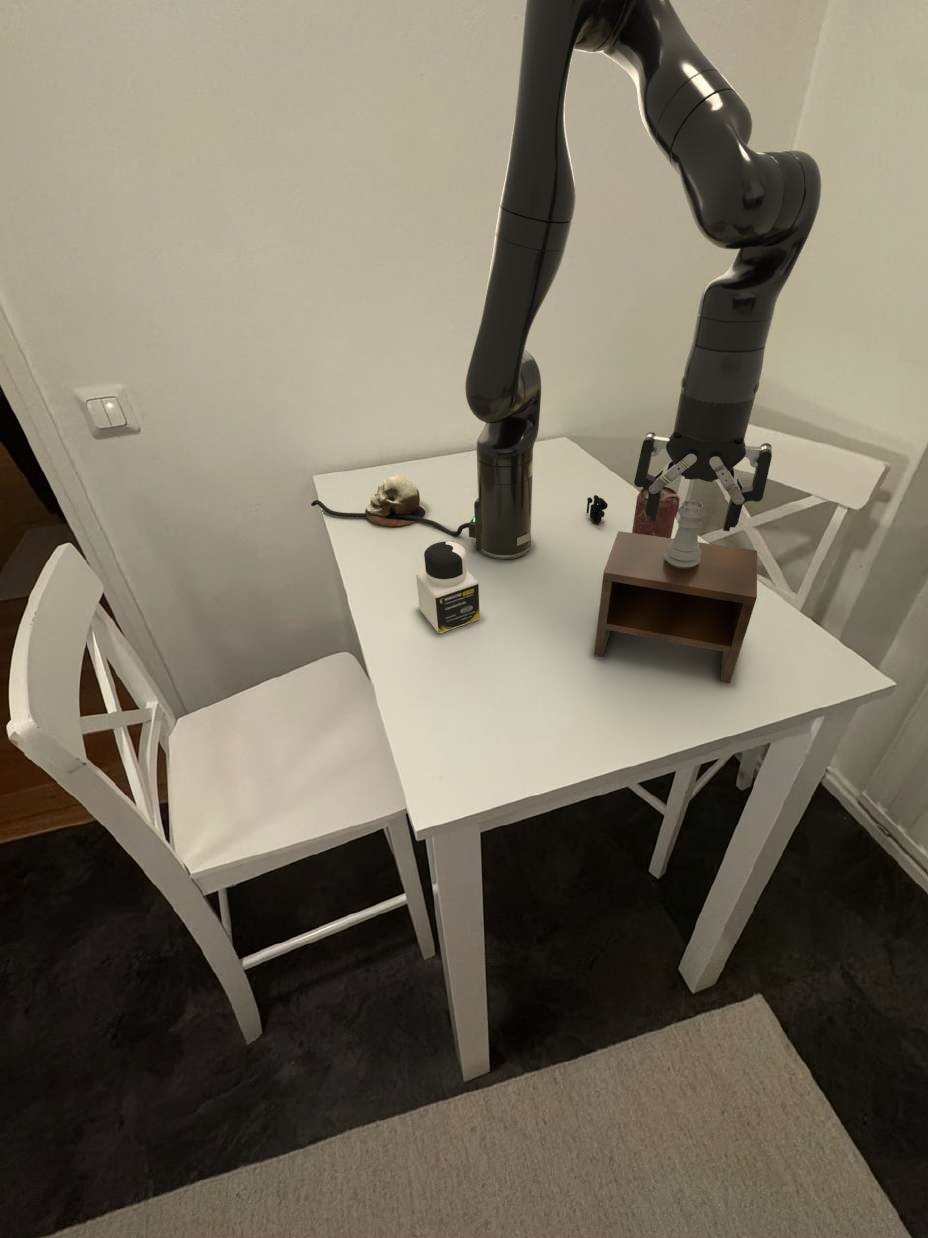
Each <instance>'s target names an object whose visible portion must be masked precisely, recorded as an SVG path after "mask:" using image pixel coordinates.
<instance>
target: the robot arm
mask: <svg viewBox="0 0 928 1238" xmlns="http://www.w3.org/2000/svg"><path fill="white" fill-rule="evenodd" d="M574 51H578V52H583V53H588V54H597V53H598V54H599V53H600V54H603V55H605V56H606V57H607V58H609V59H610V60H612V61H613V62H614V63H616V64H617V65H618V66H620V67H621V68H622V69H623V70H624V71H626V73H627V74H628V75H629V76H630V77H631V79H632V81H633V82H634V84H635V87H636V91H637V92H636V93H637V103H638V109H639V113H640V117H641V121H642V123H643V125H644V128H645V129H646V131H647V133H648V135H649V137H650V138H651V140H652V141H653V143H654V144H655V146H656V147H657V148H658V149H659V151H660V152H661V153H662V154H663V156H664V158H665V159H666V160H667V161H668V162H669V164H670V165H671V167H672V168H673V170H674V171H675V172H676V173H677V174H678V175H679V178H680V181H681V185H682V189H683V192H684V196H685V198H686V201H687V204H688V207H689V210H690V213H691V216H692V218H693V221H694V224H695V226H696V228H697V229H698V231H699V233H700V234H701V235H702V236H703V237H704V238H705V239H706V240H707V241H708V242H710V243H711V244H712V245H714V246H716V247H717V248H720V249H723V250H730V251H733V250H737V252H736V254H735V257H734V258H733V261H732V262H731V265H730V266H729V268H728V269H727V270H726V271H725V272H723V273H721V274H720V275H718V276H716V277H715V278H713V279H711V280H710V281H709V282H707V284H706V285H705V286H704V287H703V290H702V293H701V296H700V299H699V304H698V309H697V314H696V320H695V325H694V331H693V336H692V342H691V345H690V346H691V347H690V349H689V353H688V356H687V359H686V362H685V365H684V371H683V376H682V378H681V383H680V387H681V388H680V393H679V399H678V405H677V409H676V410H677V411H676V416H675V421H674V426H673V431H672V433H671V435H670V436H669V437H663V436H657V435H656V433H655V432H653V431H648V432H647V433H646V434H645V436H644V439H643V441H642V445H641V448H640V449H641V450H640V453H639V458H638V463H637V468H636V472H635V475H634V476H635V477H634V481H633V483H634V484H633V485H634V486H635V487H637V488H642V489H643V488H645V489H647V491H648V493H649V494H648V500H647V506H646V515H647V516H651V517H650V521H656V518H657V514H658V509H659V504H660V498H661V493H662V488H663V487H667V485H669V484H671V483H672V482H673V481H675V480H676V479H677V478H678V477H679V476H681V477H684V479H685V480H702V481H704V482H708V483H713V482H714V481H717V480H719V482H720V483H721V485H722V487H723V489H724V490H725V491H726V492H727V494H728V495H729V500H728V504H727V505H728V506H727V509H726V513H725V516H724V521H723V525H722V526H723V527H722V531H723V532H730V530H731V528H736V527H737V525H738V524H739V519H740V517H741V513H742V509H743V506H744V505H745V503H748V502H752V501H753V502H755V503H759V502H761V501H762V500H763V498H764V495H765V490H766V485H767V480H768V476H769V472H770V467H771V462H772V457H773V455H772V454H773V449H772V448H773V447H772V444H771V443H768V442H765V443H762V444H761V445H760V446H753V445H746V442H745V439H746V434H747V431H748V426H749V422H750V418H751V414H752V410H753V406H754V403H755V399H756V395H757V392H758V390H759V388H760V379H761V375H762V371H763V366H764V360H765V359H764V356H765V351H766V345H767V342H768V339H769V338H768V337H769V334H770V330H771V326H772V322H773V318H774V314H775V310H776V304H777V302H778V299H779V296H780V294H781V292H782V290H783V289H784V287H785V286H786V283H787V282H788V280H789V277H790V276H791V274H792V272H793V269H794V267H795V265H796V263H797V261H798V258H799V257H800V255H801V253H802V252H803V249H804V247H805V244H806V243H807V240H808V239H809V237H810V234H811V231H812V229H813V226H814V225H815V224H814V223H815V221H816V218H817V215H818V211H819V208H820V203H821V196H822V177H821V172H820V168H819V165H818V163H817V161H816V160H815V158H813V157H812V156H811V155H810V154H809V153H807V152H805V151H802V150H795V149H793V150H789V149H788V150H778V151H761V152H756V151H754V150H753V149H751V147H749V145H748V144H749V142H750V141H751V140H750V139H751V136H752V132H753V118H752V115H751V111H750V109H749V107H748V105H747V103H746V102H745V101H744V99H743V98H742V97H741V95H740V94H739V92H737V90H735V88H734V87H733V86H732V84H730V82H729V81H728V80H727V79H726V77H725V76H724V75H723V74H722V73H721V71H719V69H718V68H717V67H716V66H715V65H714V63H712V61H711V60H710V59H709V58H708V57H707V56H706V54H705V53H704V52H703V51H702V49H701V48H700V47H699V45H697V43H696V42H695V40H694V38H693V37H692V36H691V34H690V33H689V31H688V30H687V28H686V26H685V25H684V23H683V22H682V20H681V19H680V17H679V15H678V13H677V12H676V10H675V8H674V6H673V4H672V2H671V1H670V0H526V4H525V13H524V24H523V33H522V43H521V55H520V66H519V76H518V86H517V87H518V88H517V97H516V104H515V113H514V119H513V120H514V121H513V128H512V133H511V141H510V147H509V154H508V159H507V167H506V172H505V178H504V183H503V188H502V194H501V198H500V203H499V208H498V214H497V219H496V220H497V221H496V227H495V233H494V240H493V250H492V256H491V261H490V267H489V272H488V278H487V283H486V289H485V296H484V302H483V307H482V314H481V318H480V323H479V327H478V331H477V334H476V338H475V342H474V346H473V350H472V354H471V357H470V361H469V364H468V368H467V372H466V377H465V385H464V386H465V387H464V388H465V389H464V390H465V398H466V402H467V405H468V407H469V409H470V411H471V412H472V415H474V416H475V417H476V418H477V419H478V420H479V421H481V422H483V423H485V425H484V426H483V429H482V431H481V433H480V434H479V436H478V438H477V440H476V445H475V446H476V449H475V450H476V474H477V475H476V476H477V498H476V500H475V501H474V504H473V509H474V510H473V511H474V512H473V513H474V516H473V517H472V519H470V521H469V522H465V523H462V524H460V525H459V526H458V527H457V529H456V530H455V531H453V530H450V529H449V528H447V527H445V526H444V525H442V524H440V523H439V522H437V521H434V520H432V519H428V518H424V517H422V518H421V517H417V516H412V515H406V514H403V515H393V516H394V517H399V518H404V519H410V520H415V521H416V522H420V523H423V524H427V525H430V526H432V527H434V528H436V529H438V530H440V531H441V532H443V533H445V534H447V535H449V536H453V537H459V536H461V534H462V532H463V530H464V529H468V538H471V539H475V551H477V552H481V553H482V554H483V555H485V556H487V557H488V558H492V559H495V560H513V559H514V560H515V559H518V558H520V557H523V556H525V555H526V554H528V553H529V552H530V550H531V548H532V515H533V514H532V513H533V512H532V510H533V507H532V506H533V477H534V476H533V472H534V471H533V470H534V447H535V444H536V441H537V438H538V435H539V429H540V418H541V417H540V416H541V405H542V404H541V402H542V376H541V371H540V368H539V365H538V362H537V360H536V359H535V357H534V356H533V355H532V354H531V353H530V352H529V351H528V350H526V349H525V348H526V344H527V341H528V337H529V335H530V331H531V328H532V325H533V323H534V321H535V318H536V317H537V315H538V313H539V310H540V308H541V307H542V305H543V303H544V301H545V299H546V297H547V295H548V294H549V292H550V289H551V287H552V285H553V283H554V281H555V279H556V276H557V274H558V272H559V270H560V266H561V264H562V261H563V259H564V255H565V252H566V248H567V242H568V239H569V236H570V235H569V234H570V230H571V227H572V222H573V219H574V214H575V209H576V198H577V197H576V195H577V194H576V183H575V175H574V169H573V164H572V158H571V154H570V149H569V143H568V137H567V132H566V131H567V130H566V118H565V112H566V111H565V110H566V109H565V108H566V95H567V90H568V83H569V77H570V69H571V64H572V59H573V56H574V55H573V54H574ZM661 450H666V453H667V455H668V456H669V458H670V460H669V462H667V463H665V465H664V466H663V468H662V469H660V471H659V472H657V473H656V474H655V475H652V474H650V473H649V469H650V465H651V461H652V457H656V456H658V455H659V454H660V452H661ZM745 458H747V459H748V460H749V465H750V467H752V468H754V469H755V470H754V472H753V473H754V474H753V478H752V479H753V480H752V483H751V485H749V486H744V485H743V484H742V481H741V480H740V478H739V475H738V472H737V471H736V469H735V467H736V466H737V465H738V464H739V463H740V462H741V461H742V460H744V459H745ZM316 505H317V506H319V508H321V509H322V511H324V512H325V513H326V514H329V515H331V516H335V517H340V518H364V519H368V517H367V516H366V515H368V516H378V515H375V514H372V513H365V512H361V513H360V512H341V511H335V510H332V509H330V508H329V507H328V506H326V505H325V504H324V503H323V502H322V501H321V500H318V499H315V500H313V501H312V503H311V504H310V506H311V507H315V506H316Z"/></svg>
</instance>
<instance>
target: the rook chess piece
mask: <svg viewBox="0 0 928 1238" xmlns="http://www.w3.org/2000/svg"><path fill="white" fill-rule="evenodd" d="M704 507H705V505H704V504H703V502H702V501H698V502H697V500H696V499H691V501H689V499H687V500H684V502H682V504H681V506H679V509H678V512H677V514H679V519H678V520H677V524H678V525H677V529H676V532H675V535H674V537H673V538H672V539H673V540H672V541H671V543H670V544H669V545H668V546H667V548H666V553H665V555H664V557H665V559H666V561H667V562H668V564H670V565H671V566H673V567H676V568H681V569H689V568H692V567H694V566H696V565H697V564H698V563H699V562H700V556H701V549H700V548H699V544H698V542H699V540H698V538H699V529H700V527H701V526H702V522H701V520H702V518H704V517H705V516H706V515H707V512H706V510H705V508H704Z"/></svg>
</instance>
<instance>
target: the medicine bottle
mask: <svg viewBox="0 0 928 1238" xmlns="http://www.w3.org/2000/svg"><path fill="white" fill-rule="evenodd" d="M423 557H424V568H425V570H421V571H418V572H416V574H415V579H416V587H417V588H416V589H417V595H418V596H417V598H418V605H419V610H420V612H421V613H422V614H423V616H424V617H425V618H426V620H427V621H428V622H429V623H430V624H431V626H432V627H433V628H434V630H435V631H436V632H437V633H438V634H442V633H445V632H447V631H450V630H451V631H452V630H454V629H456V628H459V627H461V626H464V625H468V624H470V623H473V622H475V621H479V620H480V619H481V618H480V617H481V616H480V613H481V612H480V588H479V581H478V580H477V578H475V577H474V576H473V575H472V574H471V573H470V571H468V569H467V568H468V567H467V553H466V549H465V547H464V546H463V545H461V544H460V543H458V542H454V541H438V542H436V543H433V544H431V545H429V546H428V547H427V548H425V551H424V554H423Z"/></svg>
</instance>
